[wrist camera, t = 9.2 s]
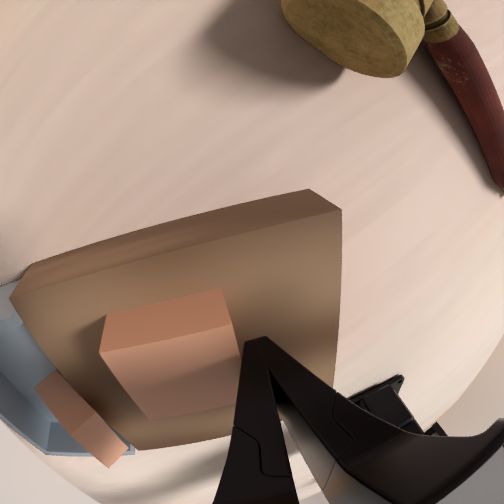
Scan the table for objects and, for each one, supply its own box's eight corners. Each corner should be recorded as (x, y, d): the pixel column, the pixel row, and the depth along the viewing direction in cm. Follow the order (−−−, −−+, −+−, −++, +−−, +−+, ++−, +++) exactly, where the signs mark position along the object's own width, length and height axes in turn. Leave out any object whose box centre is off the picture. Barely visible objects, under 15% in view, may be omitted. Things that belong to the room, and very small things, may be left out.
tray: (133, 414, 15) (135, 454, 12) (50, 421, 14) (46, 454, 11) (36, 273, 10) (10, 317, 7) (-46, 302, 8) (-69, 337, 6)
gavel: (549, 157, 12) (507, 261, 14) (508, 140, 15) (465, 233, 18) (419, -107, 1) (325, -30, 4) (360, -82, 5) (259, 12, 8)
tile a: (128, 448, 11) (108, 468, 10) (87, 410, 13) (68, 426, 12) (96, 411, 10) (70, 435, 8) (56, 369, 11) (33, 387, 10)
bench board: (314, 373, 17) (330, 402, 15) (137, 418, 15) (138, 450, 13) (309, 188, 11) (341, 209, 9) (31, 263, 9) (8, 298, 7)
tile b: (240, 364, 11) (251, 399, 10) (148, 384, 10) (149, 420, 9) (221, 287, 9) (232, 323, 8) (106, 314, 9) (98, 352, 7)
